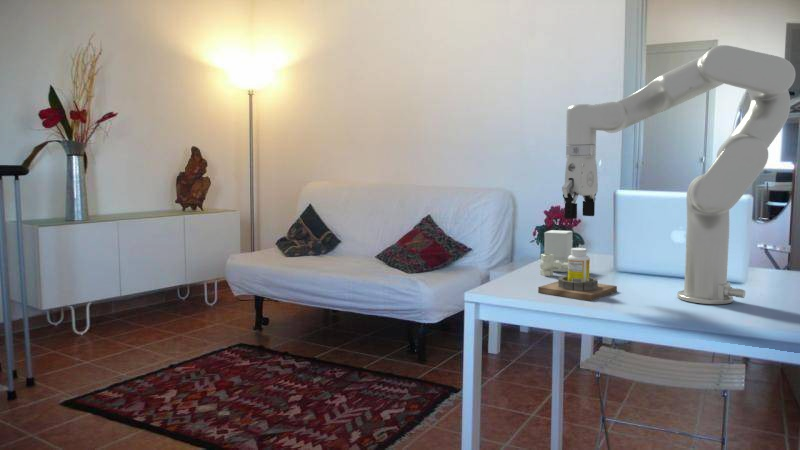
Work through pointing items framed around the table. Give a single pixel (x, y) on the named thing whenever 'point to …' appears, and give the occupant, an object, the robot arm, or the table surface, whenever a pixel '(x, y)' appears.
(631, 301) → the table surface
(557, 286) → the collar plate
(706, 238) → the robot arm
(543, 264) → the valve
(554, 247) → the supplement box
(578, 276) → the supplement bottle
